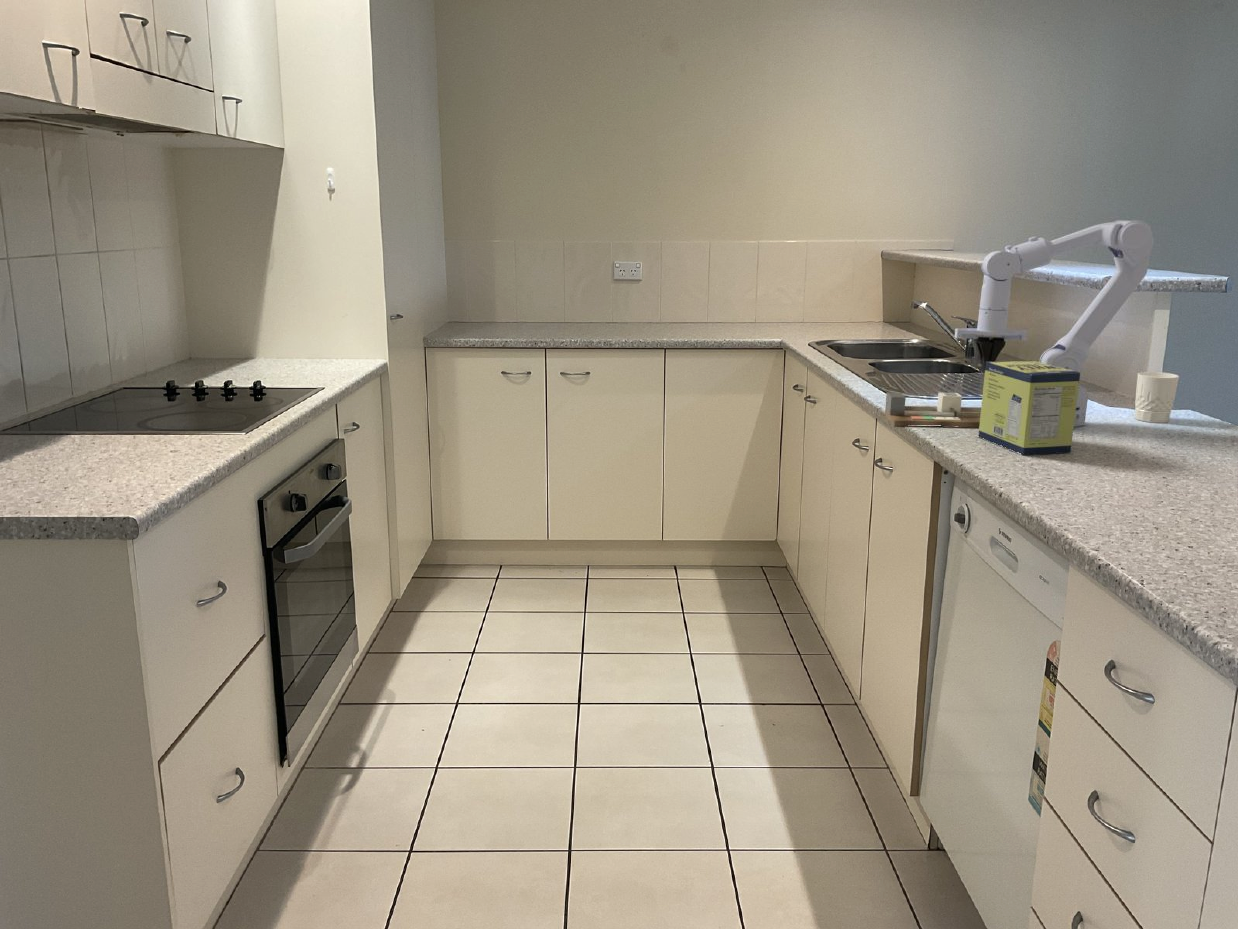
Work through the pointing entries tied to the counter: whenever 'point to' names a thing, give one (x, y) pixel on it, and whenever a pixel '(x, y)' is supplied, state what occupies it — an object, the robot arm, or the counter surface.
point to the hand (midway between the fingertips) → (986, 372)
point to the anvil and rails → (922, 408)
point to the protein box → (1029, 406)
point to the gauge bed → (933, 421)
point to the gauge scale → (935, 418)
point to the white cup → (1155, 396)
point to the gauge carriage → (949, 402)
